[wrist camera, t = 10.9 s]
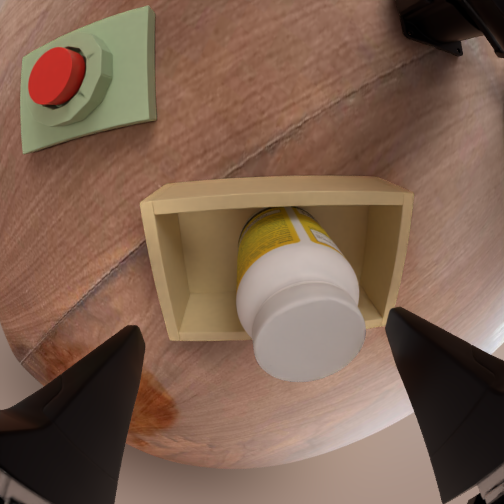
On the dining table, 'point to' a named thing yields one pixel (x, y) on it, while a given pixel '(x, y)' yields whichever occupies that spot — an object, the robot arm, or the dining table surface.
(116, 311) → the dining table surface
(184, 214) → the wooden planter box
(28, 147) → the panel
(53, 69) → the button
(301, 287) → the pill bottle
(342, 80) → the dining table surface
